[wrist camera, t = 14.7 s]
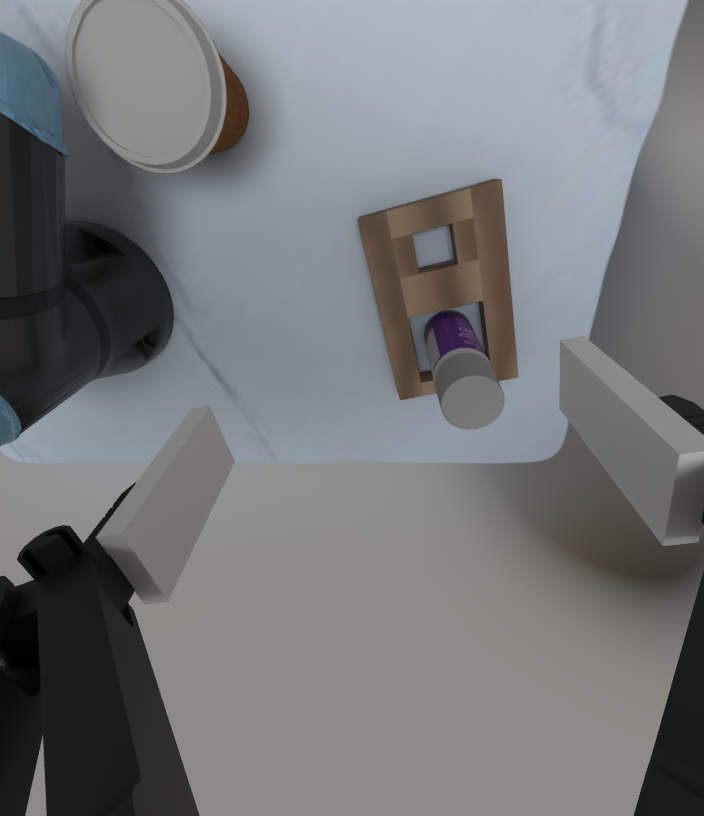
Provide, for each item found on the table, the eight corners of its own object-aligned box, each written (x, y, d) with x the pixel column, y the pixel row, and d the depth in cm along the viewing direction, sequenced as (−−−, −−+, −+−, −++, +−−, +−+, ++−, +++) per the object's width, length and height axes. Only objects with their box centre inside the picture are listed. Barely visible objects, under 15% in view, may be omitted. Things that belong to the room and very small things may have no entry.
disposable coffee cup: (150, 150, 37) (59, 143, 27) (159, 12, 33) (53, -63, 22) (256, 188, 38) (207, 195, 28) (279, 58, 33) (231, 8, 23)
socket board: (399, 389, 47) (399, 400, 45) (359, 216, 39) (357, 219, 36) (511, 367, 45) (518, 377, 42) (494, 178, 36) (501, 179, 34)
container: (474, 310, 42) (512, 375, 29) (467, 355, 44) (499, 433, 31) (426, 308, 42) (443, 372, 29) (421, 352, 45) (435, 429, 32)
